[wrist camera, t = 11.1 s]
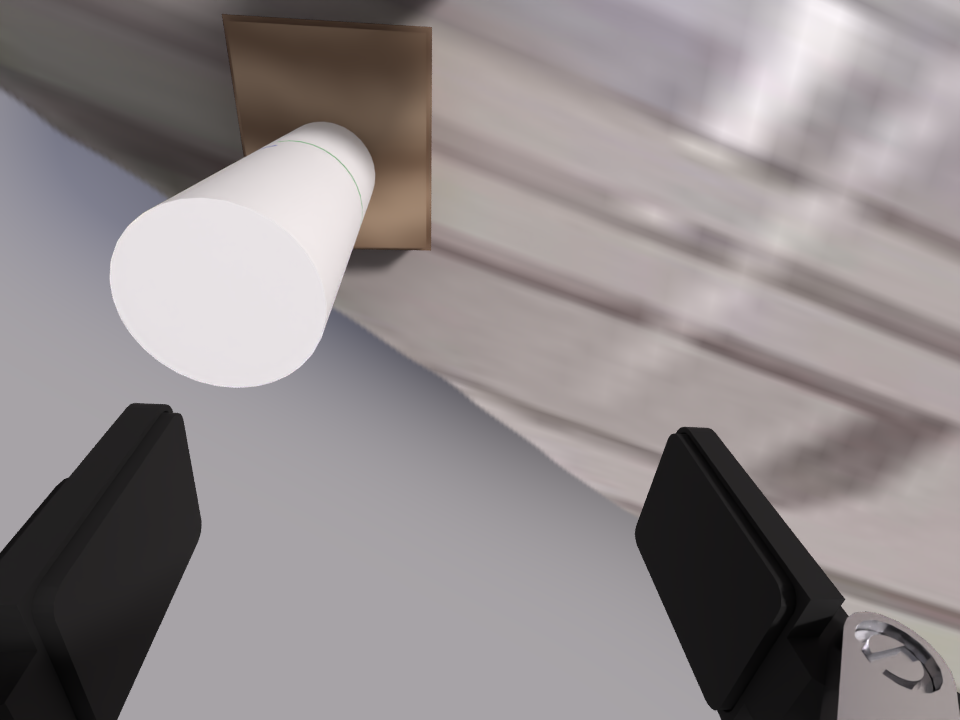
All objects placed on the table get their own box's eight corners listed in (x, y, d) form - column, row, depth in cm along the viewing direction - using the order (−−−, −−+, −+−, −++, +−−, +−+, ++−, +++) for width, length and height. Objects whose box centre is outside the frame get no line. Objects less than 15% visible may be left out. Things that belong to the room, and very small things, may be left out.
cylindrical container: (260, 141, 39) (60, 241, 17) (350, 106, 39) (263, 165, 17) (306, 232, 43) (188, 411, 21) (389, 202, 42) (359, 352, 20)
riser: (243, 19, 40) (218, 13, 35) (430, 31, 42) (432, 26, 37) (273, 230, 48) (255, 250, 43) (429, 233, 50) (431, 253, 44)
